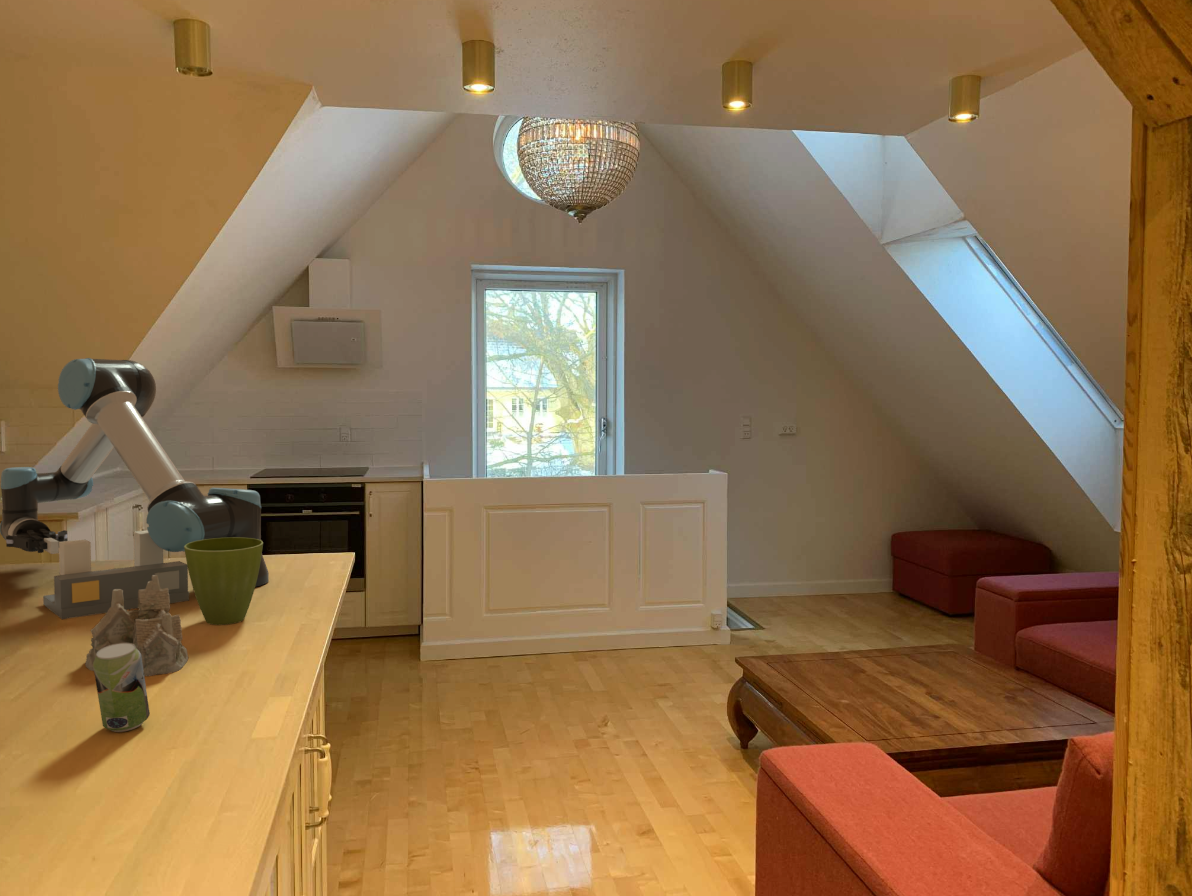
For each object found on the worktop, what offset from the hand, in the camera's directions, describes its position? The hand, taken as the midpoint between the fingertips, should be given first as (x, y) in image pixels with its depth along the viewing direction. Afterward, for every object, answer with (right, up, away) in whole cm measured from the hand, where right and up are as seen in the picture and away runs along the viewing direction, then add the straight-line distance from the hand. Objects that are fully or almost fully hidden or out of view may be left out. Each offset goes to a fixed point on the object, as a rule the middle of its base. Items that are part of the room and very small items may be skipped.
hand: (54, 547), depth 202 cm
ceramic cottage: (+42, -15, -46) cm, 64 cm away
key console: (+16, -11, -5) cm, 21 cm away
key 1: (+11, -10, -11) cm, 18 cm away
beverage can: (+54, -18, -74) cm, 94 cm away
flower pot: (+45, -13, -17) cm, 50 cm away
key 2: (+19, -9, +3) cm, 22 cm away
